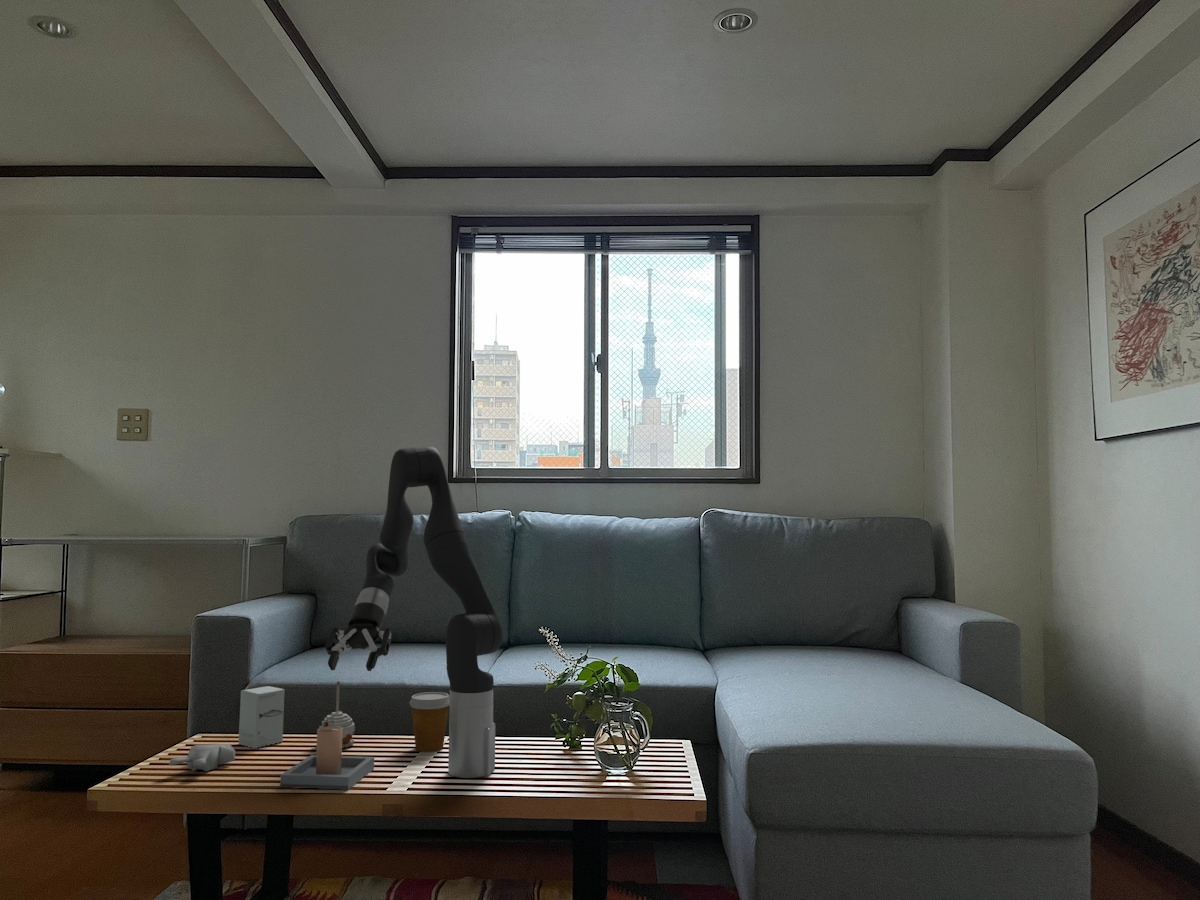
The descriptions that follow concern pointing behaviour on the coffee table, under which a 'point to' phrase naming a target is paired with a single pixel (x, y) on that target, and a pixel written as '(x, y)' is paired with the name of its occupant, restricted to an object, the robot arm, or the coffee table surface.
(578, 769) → the coffee table surface
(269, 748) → the coffee table surface
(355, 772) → the tray
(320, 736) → the tumbler
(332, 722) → the caramel apple
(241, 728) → the supplement box
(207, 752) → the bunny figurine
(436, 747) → the disposable coffee cup
